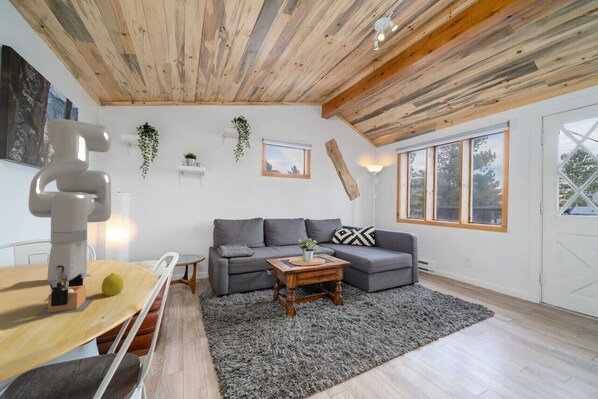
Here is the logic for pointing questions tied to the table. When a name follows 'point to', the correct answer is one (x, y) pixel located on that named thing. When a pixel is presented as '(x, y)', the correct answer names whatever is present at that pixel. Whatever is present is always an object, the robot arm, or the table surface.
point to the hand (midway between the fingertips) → (68, 298)
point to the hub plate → (81, 308)
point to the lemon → (112, 285)
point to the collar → (70, 299)
